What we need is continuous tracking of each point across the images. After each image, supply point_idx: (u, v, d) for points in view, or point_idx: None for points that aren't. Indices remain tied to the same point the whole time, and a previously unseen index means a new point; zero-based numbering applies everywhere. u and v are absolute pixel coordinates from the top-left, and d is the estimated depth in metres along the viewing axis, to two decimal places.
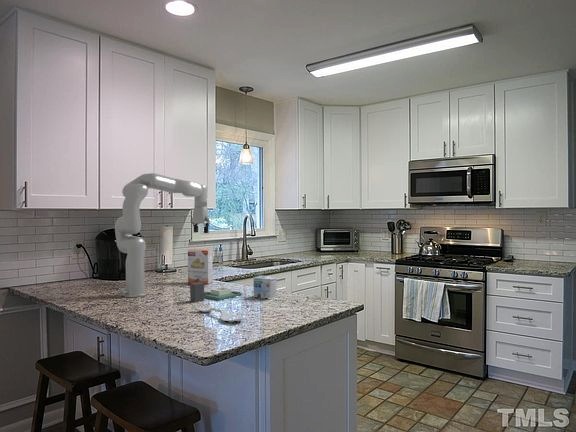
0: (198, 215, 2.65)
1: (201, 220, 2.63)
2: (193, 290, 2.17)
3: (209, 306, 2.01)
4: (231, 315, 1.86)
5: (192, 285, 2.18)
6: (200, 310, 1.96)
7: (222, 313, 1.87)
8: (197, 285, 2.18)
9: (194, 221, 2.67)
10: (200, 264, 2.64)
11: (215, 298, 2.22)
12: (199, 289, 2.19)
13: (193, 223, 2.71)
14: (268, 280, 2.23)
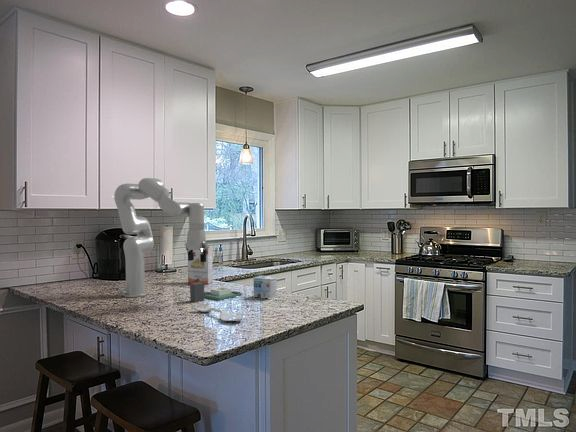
0: (193, 240, 2.16)
1: (197, 246, 2.15)
2: (193, 290, 2.17)
3: (208, 306, 2.01)
4: (231, 315, 1.87)
5: (192, 285, 2.18)
6: (199, 310, 1.96)
7: (222, 313, 1.87)
8: (197, 285, 2.18)
9: (189, 247, 2.19)
10: (200, 264, 2.64)
11: (215, 298, 2.22)
12: (199, 289, 2.19)
13: (187, 249, 2.23)
14: (268, 280, 2.23)
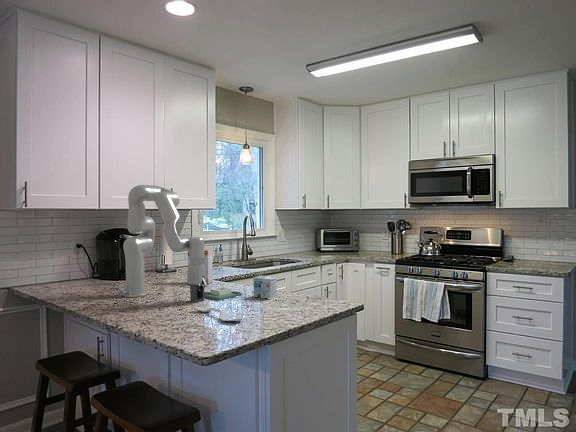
0: (194, 275, 2.17)
1: (197, 281, 2.15)
2: (193, 290, 2.17)
3: (208, 306, 2.01)
4: (230, 315, 1.87)
5: (192, 285, 2.18)
6: (199, 310, 1.96)
7: (221, 313, 1.87)
8: (197, 285, 2.18)
9: (189, 281, 2.19)
10: None
11: (215, 298, 2.22)
12: None
13: None
14: (268, 280, 2.23)
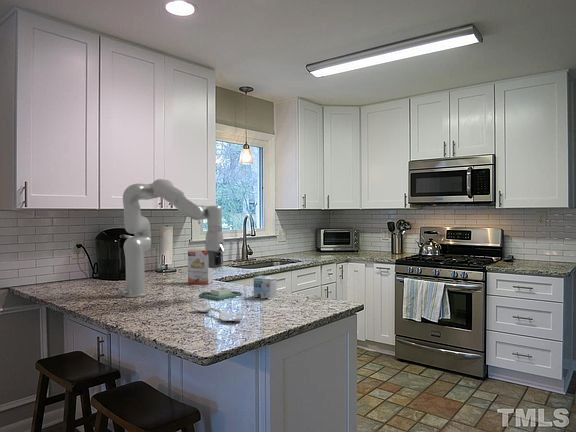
0: (212, 242, 2.24)
1: (215, 248, 2.23)
2: (211, 256, 2.25)
3: (207, 306, 2.01)
4: (230, 315, 1.87)
5: (210, 252, 2.25)
6: (198, 310, 1.96)
7: (221, 313, 1.87)
8: None
9: (207, 248, 2.27)
10: (200, 264, 2.64)
11: (215, 298, 2.22)
12: None
13: None
14: (268, 280, 2.23)
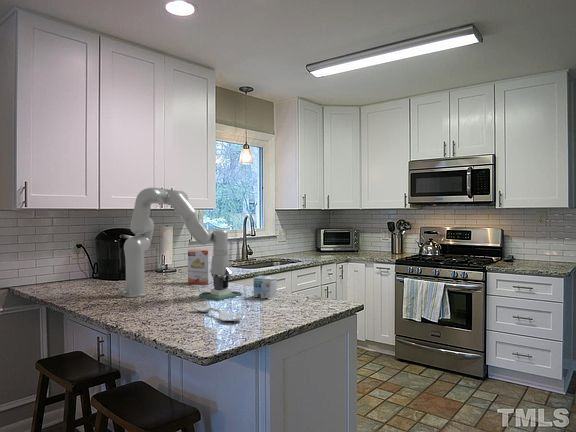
0: (218, 266, 2.28)
1: (221, 272, 2.26)
2: (217, 283, 2.28)
3: (207, 306, 2.02)
4: (229, 315, 1.87)
5: (216, 278, 2.29)
6: (198, 310, 1.96)
7: (220, 313, 1.87)
8: (221, 278, 2.28)
9: (213, 272, 2.30)
10: (200, 264, 2.64)
11: (215, 298, 2.22)
12: (222, 282, 2.29)
13: None
14: (268, 280, 2.23)
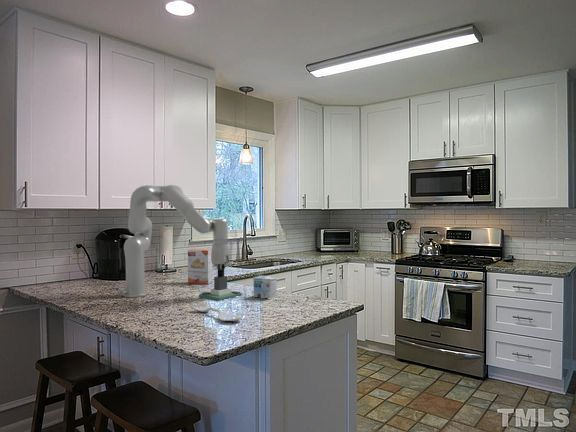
0: (218, 254, 2.27)
1: (221, 260, 2.26)
2: (217, 283, 2.28)
3: (206, 306, 2.02)
4: (229, 315, 1.87)
5: (216, 278, 2.29)
6: (198, 310, 1.96)
7: (220, 313, 1.87)
8: (221, 278, 2.28)
9: (213, 261, 2.30)
10: (200, 264, 2.64)
11: (215, 298, 2.22)
12: (223, 282, 2.29)
13: None
14: (268, 280, 2.23)
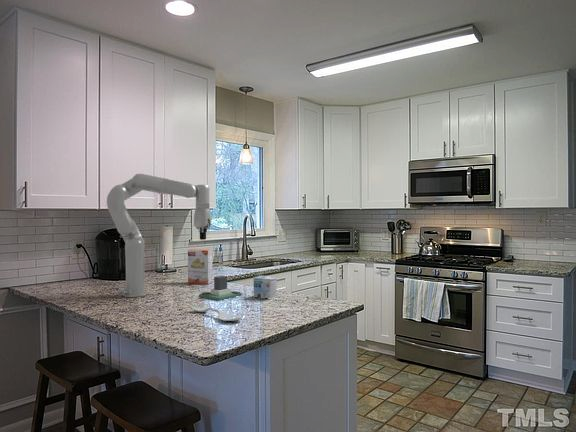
0: (200, 218, 2.41)
1: (203, 223, 2.39)
2: (217, 283, 2.28)
3: (204, 306, 2.01)
4: (228, 315, 1.87)
5: (216, 278, 2.29)
6: (196, 310, 1.96)
7: (219, 313, 1.87)
8: (221, 278, 2.28)
9: (195, 224, 2.43)
10: (200, 264, 2.64)
11: (215, 298, 2.22)
12: (222, 282, 2.29)
13: None
14: (268, 280, 2.23)
